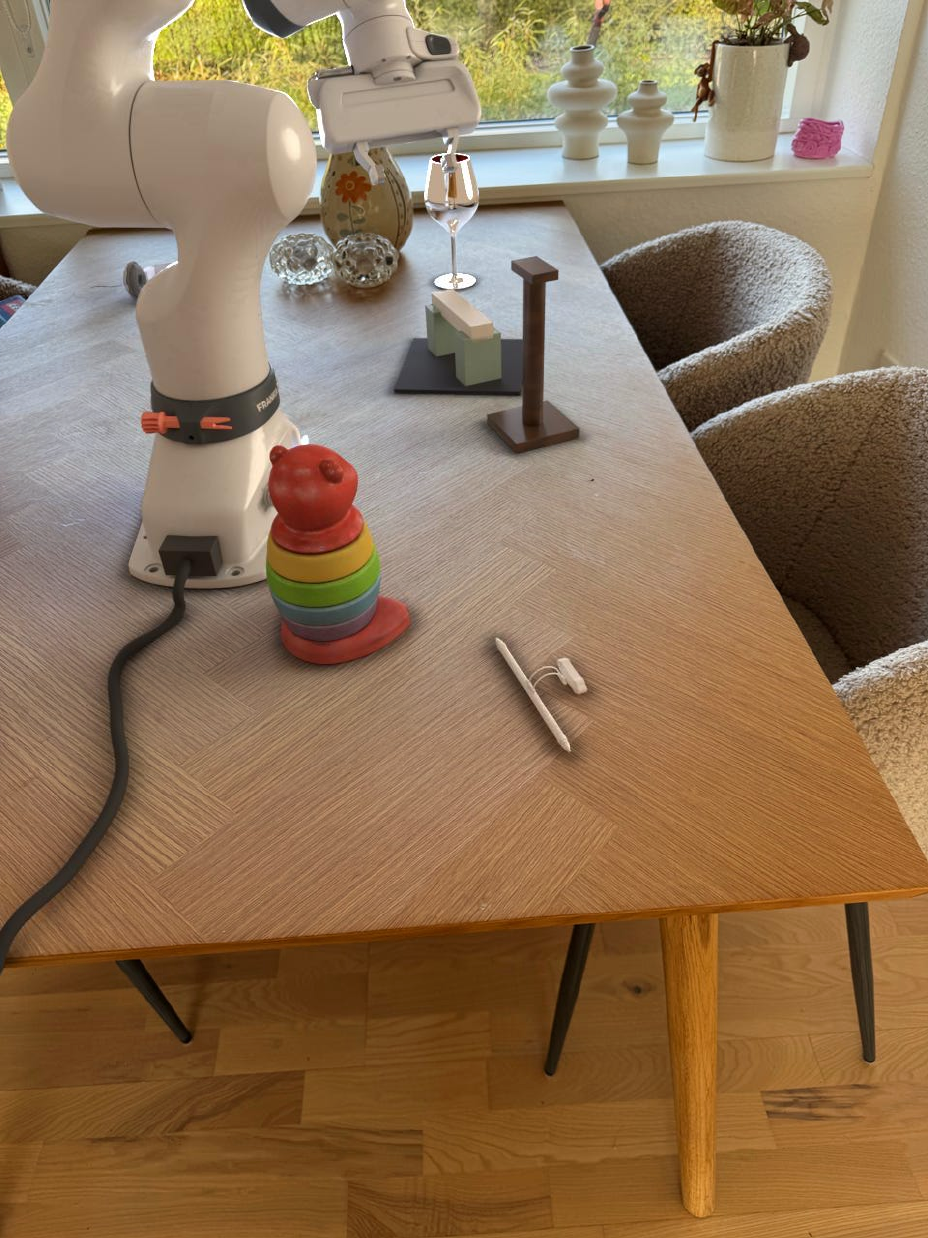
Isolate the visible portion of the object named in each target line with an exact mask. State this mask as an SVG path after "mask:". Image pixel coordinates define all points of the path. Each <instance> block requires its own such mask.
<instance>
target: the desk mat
mask: <svg viewBox="0 0 928 1238" xmlns="http://www.w3.org/2000/svg"><path fill="white" fill-rule="evenodd" d="M522 369H523V338H522V339H518V338H517V339H515V338H514V339H513V338H511V339H510V338H501V378H500V379H496V380H491V381H487V382H482V383H478V384H473V385H469V386H465V385H464V384H463V383H462V382H461V381H460V380H459V379H458V378H457V377H456V359H455V353H451V354H446V355H441V356H437V357H436V356H435V355H434V354H433V353H432V352H431V351H430V350H429V349H428V341H427V337H413V339H412V341H411V343H410V346H409V349H408V352H407V354H406V357H405V359H404V361H403V365H402V368H401V369H400V372H399V375H398V377H397V379H396V383H395V385H394V388H393V393H394V394H429V395H430V394H433V395H437V394H438V395H486V396H487V395H489V396H490V395H491V396H522Z"/></svg>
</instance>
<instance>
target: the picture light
mask: <svg viewBox="0 0 928 1238" xmlns="http://www.w3.org/2000/svg"><path fill="white" fill-rule="evenodd" d="M494 639H495V646H496V648H497V650H498V651H499V652H500V654H501V655H502V656H503V658H504V660H505V661H506V663H507V664H508V666H509V667H510V669H511V671H512V672H513V674H514V675H515V677H516V678H517V680H518V682H519V683H520V685H521V686H522V688H523V689H524V691H525V692H526V694H527V695H528V697H529V698H530V700H531V702H532V703H533V705H534V706H535V708H536V709H537V711H538V713H539V714H540V716H541V717H542V719H543V720H544V722H545V724H546V725H547V727H548V728H549V729H550V732H551V733H552V734H553V736H554V738H555V739H556V741H557V743H558V745H559V746H560V747H561V748H562V749H564V750H565V751H567V752H568V753H570V752H571V751H572V750H571V745H570V742H569V741H568V740H569V739H568V738H567V736H566V735H565V734H564V732H563V731H562V729H561V728H560V726H559V725H558V723H557V722H556V720H555V719H554V717H553V716H552V714H551V712H550V711H549V710H548V708H547V707H546V705H545V704H544V702H543V701H542V699H541V697H540V696H539V694H538V693H537V691H536V689H535V687H536V685H537V684H538V683H539V682H540V681H541V680H542V679H543V678H545V677H548V676H551V675H557V677H558V678H559V680H560V682H561V683H562V685H563V686H567V685H568V686H569V687H571V689H572V691H573V692H574V693H575V694H577V695H581V694H584V693H588V688H587V685H586V682H585V680H584V678H583V677H582V676H581V675H580V674H579V672H578V671H577V669H576V668H575V667H574V665H573V664H572V662H571V661H570V659H569V658H566V657H562V658H559V659H556V665H557V667H558V668H557V667H555V666H551V665H547V666H546V665H545V666H542V667H540V668H538V669H537V670H535V671H534V672H533V673H531V675H530V676H529V678H527V676H526V674H525V673H524V672H523V670H522V669H521V667H520V665H519V664H518V663H517V661H516V659H515V657H514V656H513V655H512V653H511V652H510V650H509V649H508V647H507V645H506V643H505V642H503V640H501V639H500V638H498V637H495V638H494ZM544 669H554V670H555V671H556V672H549V673H546V674H544V675H542V676H540V678H538V679H537V680H536V681H535V683H534V684H532V683H531V680H532V678H533V677H534V676H535V675H536V674H537V673H538V672H539V671H542V670H544Z"/></svg>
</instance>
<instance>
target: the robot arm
mask: <svg viewBox="0 0 928 1238" xmlns="http://www.w3.org/2000/svg"><path fill="white" fill-rule="evenodd" d="M240 1H241V3H242V5H243V8H244V10H245V12H246V13H247V15H248V17H249V19H251V21H252V23H253V25H254V27H257V28H258V29H260V30H262V31H263V32H265V33H267V34H269V35H271V36H274V37H277V38H279V39H286V38H288V37H290V36H292V35H293V34H296V33H298V32H300V31H302V30H304V29H305V28H307V27H309V25H312V24H313V23H316V22H319V21H321V20H324V19H326V18H329V17H332V16H333V15H336V16H337V18H338V20H339V21H340V24H341V27H342V39H343V40H342V42H343V47H344V50H345V55H346V58H347V62H348V65H344V66H339V67H335V68H331V69H327V68H324V69H323V68H322V69H318V70H316V71H315V74H313V75H312V76H310V77H309V79H308V80H307V84H306V90H307V94H308V97H309V101H310V103H311V105H312V106H313V107H314V108H315V109H316V115H317V125H318V131H319V135H320V136H319V137H320V141H321V145H322V147H323V149H324V150H325V151H326V152H328V153H329V154H330V155H340V154H345V153H352V152H353V154H354V158H355V161H356V162H357V163H358V164H359V165H360V166H361V167H362V168H363V169H364V170H365V172H366V173H368V176H369V179H370V183H371V186H378V185H384V184H385V182H386V179H387V178H386V173H385V172H384V171H385V169H384V166H383V164H382V163H380V164H376V163H375V161H374V160H373V159H372V158H371V156H370V155H368V154H369V152H370V150H372V149H377V148H378V149H379V148H385V147H392V146H393V147H394V146H398V145H406V144H413V143H419V142H424V141H432V140H438V139H439V140H440V139H442V140H443V145H444V146H448V149H447V153H443V154H444V155H443V158H441V160H440V162H441V166H442V167H443V173H444V174H445V173H453V172H456V170H457V168H458V165H457V160H456V156H455V154H456V152H457V148H458V144H459V141H460V136H464V135H470V134H473V133H474V132H475V130H476V129H477V127H478V126H479V123H480V122H481V119H482V115H483V111H482V105H481V102H480V98H479V95H478V91H477V89H476V85H475V83H474V80H473V78H472V75H471V73H470V71H469V69H468V67H467V66H466V65H465V64H464V63H463V62H461V61H460V60H458V59H459V55H460V46H459V45H460V44H459V42H458V40H457V39H456V38H455V37H452V36H448V35H444V34H443V35H442V34H438V33H436V32H435V33H434V32H431V31H427V30H423V29H420V28H418V27H415V24H414V21H413V19H412V17H411V15H410V14H409V12H408V9H407V6H406V0H240ZM194 2H195V0H49V20H48V31H47V36H46V42H45V46H44V51H43V54H42V55H43V56H42V58H41V61H40V63H39V66H38V69H37V70H36V73H35V75H34V77H33V79H32V81H31V83H30V84H29V86H28V87H27V89H25V91H24V92H23V93H22V95H21V96H20V97H19V98H18V99H17V100H16V102H15V104H14V105H13V107H12V108H11V109H12V110H11V112H10V114H9V117H8V121H7V125H6V132H5V141H6V143H5V146H6V154H7V159H8V164H9V167H10V170H11V172H12V174H13V177H14V179H15V181H16V183H17V185H18V187H19V188H20V189H21V191H22V193H23V194H24V196H26V198H27V199H28V200H29V202H31V204H32V205H33V206H34V207H35V208H36V209H37V210H39V212H42V213H43V214H45V215H47V216H50V217H55V218H58V219H62V220H66V221H69V222H74V223H78V224H82V225H88V226H92V227H97V228H133V229H135V228H137V229H139V228H141V229H142V228H143V229H146V228H147V229H149V228H150V229H166V230H167V229H168V230H171V231H172V232H173V235H174V237H175V242H176V248H177V249H176V250H177V260H176V261H175V262H172V263H173V264H171V265H170V266H168V267H166V268H165V269H163V270H162V271H160V272H159V273H157V274H156V275H155V276H153V277H152V278H151V279H150V280H149V281H147V283H146V284H145V285H144V286H143V288H142V290H141V291H140V293H139V296H138V299H137V300H136V304H135V313H134V314H135V317H134V318H135V321H136V325H137V328H138V331H139V336H140V339H141V343H142V347H143V351H144V354H145V358H146V361H147V365H148V368H149V372H150V376H151V381H150V385H149V388H150V389H149V390H150V396H149V397H150V398H149V403H150V410H151V411H149V410H148V411H147V410H146V411H145V410H144V411H143V412H142V413H141V416H140V419H141V420H140V425H141V426H140V427H141V430H142V432H143V433H144V434H146V435H150V434H155V436H154V438H153V444H152V448H151V454H150V458H149V463H148V468H147V473H146V479H145V482H144V483H145V484H144V489H143V495H142V499H141V500H142V501H141V506H140V507H141V518H142V522H141V525H140V528H139V531H138V534H137V537H136V540H135V542H134V545H133V548H132V552H131V554H130V557H129V561H128V564H127V566H128V570H129V574H130V575H132V576H133V577H135V578H137V579H138V580H141V581H143V582H146V583H149V584H153V585H156V586H157V585H158V586H163V587H172V592H171V593H172V594H171V596H172V600H173V608H172V610H171V611H170V614H169V615H168V617H167V618H166V619H165V620H164V621H162V623H160V624H159V625H157V626H156V627H154V628H153V629H151V630H149V631H147V632H145V633H143V634H141V635H139V636H137V637H136V638H134V639H133V640H131V641H129V642H128V643H127V644H125V645H124V646H123V647H122V648H121V649H120V650H119V651H118V652H117V654H116V655H115V657H114V658H113V661H112V663H111V665H110V667H109V670H108V674H107V675H108V676H107V696H108V703H109V727H110V736H111V737H110V738H111V743H112V749H113V754H114V761H115V763H114V776H113V780H112V785H111V787H110V790H109V793H108V795H107V798H106V801H105V803H104V806H103V807H102V809H101V811H100V813H99V814H98V816H97V818H96V820H95V822H94V823H93V824H92V826H91V828H90V829H89V831H88V832H87V833H86V835H85V837H84V838H83V839H82V840H81V842H80V843H79V844H78V846H77V847H76V849H75V850H74V852H73V853H72V854H71V855H70V857H69V858H68V859H67V861H66V862H65V864H64V865H63V866H62V867H61V869H59V871H58V872H57V873H56V874H55V875H54V876H53V877H52V878H51V879H50V880H49V881H47V882H46V883H45V884H44V885H43V886H42V887H41V888H39V889H38V890H37V891H35V893H33V894H32V895H31V896H30V897H29V898H28V899H26V900H25V901H24V902H23V903H22V904H21V905H20V906H19V907H18V908H17V909H16V910H15V911H14V912H13V913H12V914H11V915H10V916H9V918H8V919H7V920H6V921H5V923H4V924H3V925H2V927H1V928H0V976H1V975H2V973H3V971H4V967H5V963H6V959H7V955H8V953H9V950H10V948H11V946H12V944H13V942H14V940H15V939H16V937H17V935H18V934H19V933H20V931H21V930H22V928H23V927H24V926H25V925H26V924H27V923H28V922H29V921H30V919H31V918H33V916H35V914H37V913H38V912H39V911H40V910H41V909H43V907H45V906H46V905H47V904H48V903H49V902H51V900H52V899H54V898H55V897H56V896H57V895H58V894H59V893H60V892H62V890H64V888H66V886H67V885H68V884H69V883H70V882H71V881H72V880H73V879H74V878H75V877H76V876H77V874H78V873H80V870H81V869H82V868H83V866H84V865H85V863H86V862H87V860H88V859H89V858H90V856H91V855H92V853H93V852H94V851H95V849H96V848H97V846H98V845H99V843H100V842H101V841H102V839H103V837H104V836H105V834H106V833H107V831H108V830H109V828H110V827H111V825H112V823H113V822H114V819H115V818H116V816H117V814H118V812H119V810H120V807H121V804H122V802H123V800H124V797H125V794H126V791H127V786H128V782H129V775H130V756H129V749H128V744H127V740H126V733H125V726H124V706H123V697H122V690H121V679H122V675H123V671H124V668H125V666H126V664H127V662H128V661H129V659H130V658H131V657H132V656H133V655H134V654H135V653H137V652H138V651H139V650H141V649H143V648H145V647H147V646H149V645H150V644H152V643H153V642H155V641H156V640H158V639H159V638H161V637H162V636H163V635H165V634H166V633H167V632H169V631H170V630H172V629H173V628H174V627H176V626H177V625H178V624H179V622H180V621H181V619H182V618H183V615H184V613H185V611H186V607H187V605H186V600H185V589H224V588H225V589H226V588H233V587H234V588H236V587H241V586H246V585H250V584H254V583H257V582H260V581H264V580H267V577H266V557H267V541H268V535H269V532H270V530H271V525H272V522H273V520H274V518H275V517H276V515H277V514H278V512H277V511H276V509H275V507H274V505H273V503H272V501H271V498H270V494H269V489H268V480H269V474H270V471H271V469H272V463H271V462H270V458H269V455H270V451H271V450H272V448H273V447H274V446H277V445H281V446H284V447H285V448H286V449H288V450H289V449H291V448H293V447H295V446H299V445H304V444H310V441H309V436H308V435H303V437H302V438H301V434H300V430H299V428H298V427H297V426H296V425H295V424H294V423H293V422H292V421H291V420H290V419H289V418H288V417H287V416H286V415H285V413H284V412H283V411H282V409H281V407H280V404H281V397H280V396H281V395H280V386H279V385H280V384H279V380H278V376H277V375H276V372H275V368H274V366H273V365H272V363H271V362H270V361H269V357H268V350H267V345H266V339H265V331H264V323H263V315H262V314H263V313H262V306H261V282H262V275H263V272H264V271H263V270H264V268H265V267H264V266H265V264H266V263H265V262H266V260H267V257H268V255H269V252H270V250H271V248H272V246H273V245H274V243H275V242H276V240H277V238H278V237H279V236H280V234H281V233H282V232H283V231H284V229H286V227H288V226H289V224H290V223H291V222H293V221H294V220H295V219H296V218H297V217H298V216H299V215H300V214H301V212H302V211H303V210H304V208H305V207H306V205H307V204H308V202H309V200H310V198H311V196H312V193H313V190H314V187H315V184H316V178H317V172H318V171H317V170H318V155H317V147H316V143H315V139H314V135H313V133H312V129H311V127H310V125H309V123H308V120H307V119H306V117H305V116H304V114H303V111H301V109H300V108H299V107H298V105H297V104H296V103H295V101H294V100H293V99H292V98H291V97H290V96H289V95H288V94H287V93H285V92H284V91H281V90H276V89H272V88H267V87H264V86H260V85H255V84H251V83H245V82H240V81H235V80H231V79H198V80H197V79H194V80H193V79H192V80H191V79H190V80H155V76H154V69H153V58H154V57H153V56H154V49H155V44H156V41H157V38H158V36H159V34H160V32H161V31H162V30H163V29H165V28H166V27H167V26H168V25H170V24H172V23H173V22H174V21H176V20H177V19H179V18H180V17H181V16H182V15H184V14H185V13H186V12H187V11H188V10H189V8H190V7H191V6H192V5H193V3H194Z"/></svg>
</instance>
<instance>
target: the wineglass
mask: <svg viewBox="0 0 928 1238" xmlns="http://www.w3.org/2000/svg"><path fill="white" fill-rule="evenodd" d="M444 154H445V153H441V154H437V155H434V156H432V157H431V158H430V160H429V164H428V168H427V169H428V170H427V175H426V181H425V187H424V195H423V196H424V199H423V200H424V206H425V209H426V211H427V213H428V214H429V216H430V217H431V218H432V219H433V220H434V221H435V222H437V224H439V225H440V226H441V227H442V228H443V229H445V231H446V232H448V234H449V236H450V249H451V250H450V251H451V273H449V274H445V275H442V276H439V277H438V278H436V279H435V280H434V284H435V286H436V287H437V288H439V289H442V290H448V289H453V290H455V291H456V290H463V289H467V288H470V287H472V286H474V285H475V283H476V278H475V277H474V276H472V275H469V274H464V273H459V270H458V256H457V255H458V254H457V236H458V234H459V231H460V230H461V229H462V227H464V225H466V224H467V223H468V222H469V221H470V219H471V218H472V217H473V216H474V215H475V213H476V211H477V210H478V206H479V203H480V193H479V188H478V184H477V179H476V175H475V171H474V168H473V164H472V161H471V158H470V156H469V155H467V154H464V153H455V156H456V160H457V165H458V168H457V170H456V172H453V173H445V174H444V173H443V167H442V166H441V162H440V160H441V158H443V155H444Z"/></svg>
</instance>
